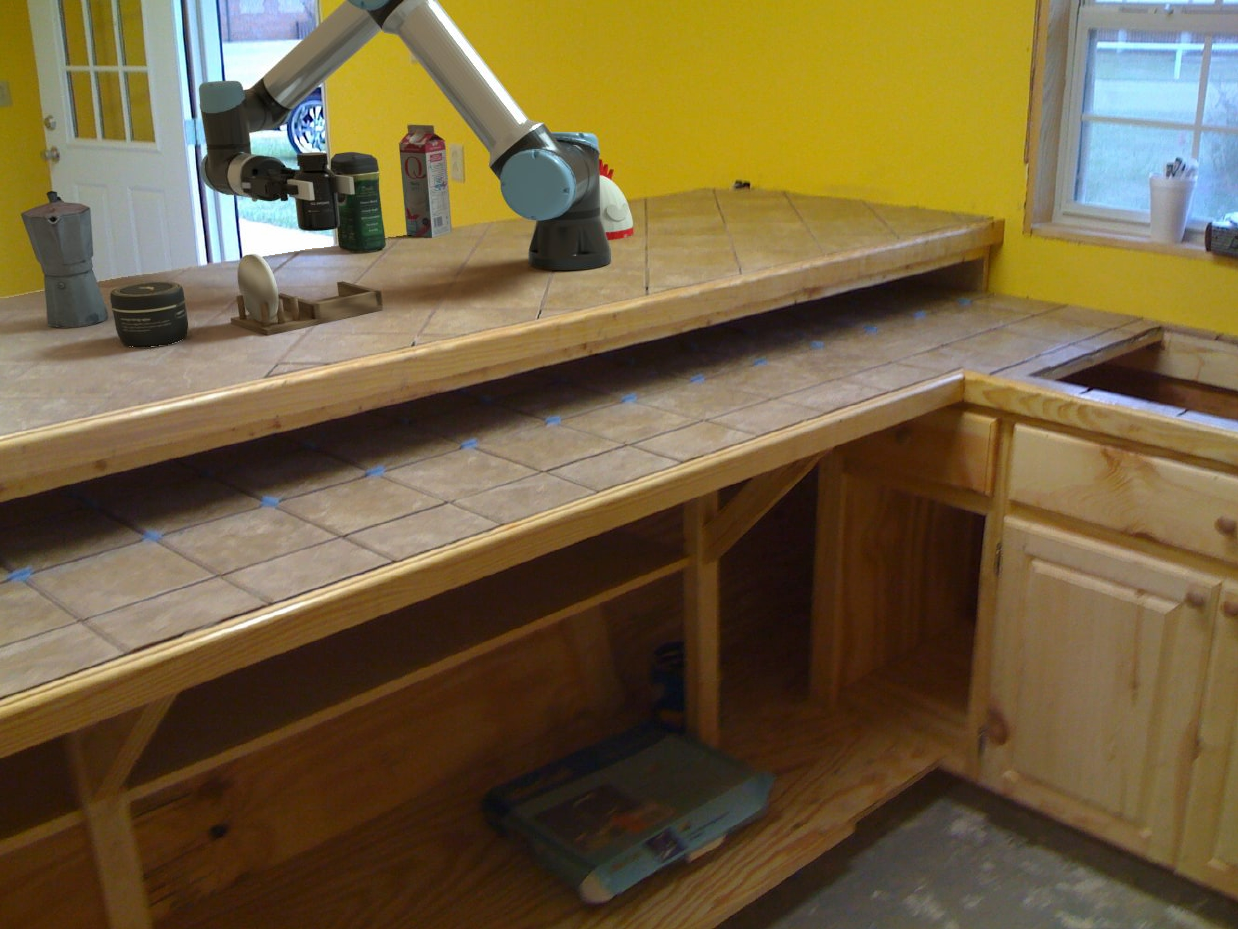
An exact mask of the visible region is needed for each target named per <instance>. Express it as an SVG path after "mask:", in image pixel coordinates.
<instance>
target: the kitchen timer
mask: <svg viewBox="0 0 1238 929" xmlns="http://www.w3.org/2000/svg"><path fill="white" fill-rule="evenodd" d="M608 170H609V171H608ZM599 173H600V215H601V222H602V225H603V227H604V230H605V233H606V236H607V239H608V241H614V239H615V240H622V239H625V237H626V238H629V237H628V236H630V237H632V236H633V235H634V220H633V215H632V213H631V210H630V207H629V203H628V201H627V199H626V197H625V195H624V193H623V192H622V190H621V189H620V188H619V186H618V185H617V184H616V183H615V182H614V181H613V180H612V179H613V178H612V177H613V176H614V169H613V168H610V169H609V163H608V164H607V163H604V161H603V159H601V158H599ZM631 235H632V236H631ZM621 238H622V239H621Z"/></svg>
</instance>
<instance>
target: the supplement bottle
mask: <svg viewBox="0 0 1238 929" xmlns="http://www.w3.org/2000/svg"><path fill="white" fill-rule="evenodd" d="M328 157H329V156H328V153H327V152H321V151H319V152H317V151H316V152H315V151H313V152H302V153H301V152H300V153H297V154H296V161H297V162H296V164H297V167H299V168H298V169H299V170H298V171H297V172H296V173H295V174H294V176H293V180H299V181H306V182H313V191H314V199H315V200H305V199H299V198H294V201H295V210H296V218H297V225H298V226H297V227H298V228H299V230H301V231H306V232H324V231H331V230H337V228H338V227H339V226H340V216H339V205H338V195H337V184H336V176H335V174H334V173H333V171H331V169H329V168H328V165H329V159H328Z"/></svg>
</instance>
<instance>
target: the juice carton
mask: <svg viewBox="0 0 1238 929" xmlns="http://www.w3.org/2000/svg"><path fill="white" fill-rule="evenodd" d="M406 126H407V133H406V134H405V135H404V136H403V137H402V139H401V140H400V141H399V142H398V148H399V161H400V171H401V173H400V174H401V182H402V194H403V208H404V218H405V219H404V220H405V230H406V236H407V237H408V235H412V236H411V237H420V238H421V237H422V238H431V239H433V238H436V237H440V236H443V235H447V234H450V233H452V230H453V229H452V218H451V217H452V215H451V204H450V191H449V190H450V189H449V178H448V177H449V174H448V164H447V163H448V162H447V150H446V140H445V139H444V138H442V137H441V136H439V135H438V134H436V132H435V125H434V124H433V125H432V124H407V125H406Z"/></svg>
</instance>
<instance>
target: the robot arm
mask: <svg viewBox="0 0 1238 929" xmlns="http://www.w3.org/2000/svg"><path fill="white" fill-rule="evenodd" d="M381 31H382V32H383V34H388V35H396V36H398V38H399V39H400V40H401V41H402V42H403V44H404V45H405V46H406V48H407V49H408V50H409V51H410V53H411V54H412V56H413V57H414V58H415V59H416V60H417V62H418V63H419V64H420V66H421V67H422V68H423V69H424V71H425V72H426V74H427V75H428V76H429V78H430V79H432V80H431V81H433V82H434V83H435V85H436V87H438V89H439V90H440V91H441V93H442V94H443V95H444V96H445V98H446V99H447V100H448V102H449V103H450V104H451V105H452V107H453V108H454V109H455V110H456V112H457V113H458V115H459V116H460V118H462V120H463V121H464V122H465V123H466V125H467V126H468V127H469V129H470V130H471V131H472V132H473V133H474V135H475V136H476V137H477V139H478V140H479V141H480V142H481V143H482V145H483V147H485V149H486V151H488V152H489V161H488V163H489V164H488V166H489V169H490V170H491V171H492V173H494V175H495V176H496V178H497V179H498V180H499V182H500V185H499V186H500V192H501V195H502V197H503V200H504V201H505V203H506V205H507V206H508V208H510V209H511V211H512V212H514V213H515V214H516V215H518V216H520V217H522V218H523V219H526V220H530V221H535V225H534V229H533V233H532V237H531V239H530V244H529V248H528V252H527V254H528V264H529V266H532V267H534V268H537V269H543V270H550V271H551V270H552V271H553V270H554V271H576V270H588V269H596V268H599V267H604V266H606V265H608V264H610V263H612V249H611V245H610V242H609V240H608V239H607V236H606V233H605V230H604V227H603V225H602V222H601V215H600V173H599V159H600V155H601V154H600V153H601V150H600V148H599V139H598V137H597V135H595V134H594V133H592V132H591V133H590V132H574V131H573V132H566V131H565V132H564V131H563V132H562V131H559V132H558V131H557V132H556V131H553V132H552V131H550V129H549V128H548V127H547V125H546V124H545V123H544V122H543V121H542V122H541V121H536V120H535V121H534V120H531V119H530V118H529V117H528V116H527V115H526V113H525V112H524V111H523V109H522V108H521V107H520V105H519V104H518V103H517V102H516V100H515V99H514V98H513V96H512V95H511V94H510V93H509V91H508V90H507V89H506V88H505V86H504V85H503V84H502V83H501V81H500V80H499V78H498V77H497V76H496V75H495V73H494V72H493V71H492V69H491V68H490V67H489V66H488V65H487V63H486V62H485V59H483V58H482V57H481V55H480V54H479V53H478V51H477V49H475V48H474V46H473V45H472V44H471V42H470V41H469V40H468V38H467V37H466V36H465V35H464V33H463V32H462V30H461V29H460V28H459V27H458V26H457V24H456V23H455V21H454V20H453V19H452V18H451V16H450V15H449V14H448V13H447V11H446V10H445V9H444V7H443V6H442V5H441V4H440V2H439V0H344V1H343V2H342V3H341V4H340V5H339V6H337V8H335V9H334V10H333V11H332V12H331V13H330V14H329V15H328V16H327V17H326V18H325V19H324V20H322V21H321V22H320V23H319V24H318V25H317V26H316V27H315V28H314V29H313V30H312V31H311V32H309V34H308V35H306V36H305V38H303V39H301V41H300V42H299V43H298V44H296V45H295V46H294V47H293V48H292V49H291V50H290V51H289V52H288V53H286V55H285V56H283V57H282V58H281V59H280V60H279V61H278V62H277V63H276V64H274V66H273V67H272V68H271V69H270V70H268V71H267V72H266V73H265V74H264V76H262V77H261V78H260V79H259V80H258V81H257V82H255V83H254V84H253V85H252V86H251V87H250V88H248V89H244V87H243V85H242V84H243V83H241V82H240V81H238V80H215V81H205V82H202V83H200V85H199V88H198V95H199V109H200V114H201V121H202V126H203V127H202V128H203V132H204V133H203V134H204V139H205V144H206V154H205V155H204V157H203V158H202V161H201V163H200V168H199V172H200V176H201V178H202V181H203V182H204V184H205V185H206V186H207V187H208V188H209V189H211V190H213V192H218V193H221V194H222V195H226V196H235V197H236V196H237V197H244V198H250V199H251V201H252V202H255V203H256V202H258V200H260V201H263V202H275V201H278V200H280V202H288V201H289V198H292V199H293V198H294V199H295V198H299V199H305V200H315V199H314V191H313V182H306V181H299V180H293V176H294V174H295V173H296V172H297V171H298V170H299V168H298V169H297V168H294V169H293V168H291V167H287V166H286V165H285V164H284V162H282V161H281V160H280V159H279V158H276V157H273V156H270V155H269V156H268V155H262V154H253V153H252V148H251V147H252V146H251V136H250V134H251V133H252V134H253V133H256V132H257V133H258V132H262V131H272V130H275V129H278V128H279V127H282V126H284V125H285V124H286V123H287V122H288V121H289V120H290V117H291V114H292V111H293V110H294V109H295V108H296V107H297V106H298V105H299V104H301V103H302V102H303V100H305V99H306V98H307V97H308V96H310V95H311V94H312V93H313V92H314V91H315V90H316V89H317V88H319V87H320V86H321V85H322V84H323V83H324V82H325V81H326V80H327V79H328V78H330V77H331V76H332V75H333V74H334V73H335V72H336V71H338V70H339V69H340V68H341V67H342V66H343V65H345V63H346V62H348V61H349V60H350V59H351V58H352V57H354V55H355V54H357V53H358V52H359V51H360V50H361V49H362V48H363V47H365V45H366V44H368V43H369V42H370V41H371V40H373V39H374V38H375V37H376V36H377V35H378V34H379V33H380V32H381ZM330 170H331V169H330ZM331 171H333V173H334V174H335V176H336V184H337V192H338V193H344V194H355V191H354V182H353V177H349V176H343V173H342V172H335V169H332V170H331Z"/></svg>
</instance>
